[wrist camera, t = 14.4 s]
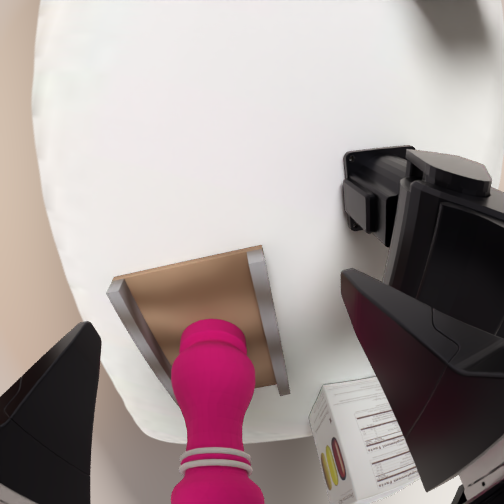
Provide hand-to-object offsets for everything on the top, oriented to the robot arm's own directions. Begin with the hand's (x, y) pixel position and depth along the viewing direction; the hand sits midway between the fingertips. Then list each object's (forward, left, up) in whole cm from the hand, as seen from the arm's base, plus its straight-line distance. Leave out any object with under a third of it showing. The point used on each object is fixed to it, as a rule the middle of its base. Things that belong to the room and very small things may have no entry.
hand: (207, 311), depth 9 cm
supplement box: (-10, +32, -13) cm, 36 cm away
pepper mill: (+4, +14, -13) cm, 19 cm away
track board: (+4, +14, -13) cm, 20 cm away
